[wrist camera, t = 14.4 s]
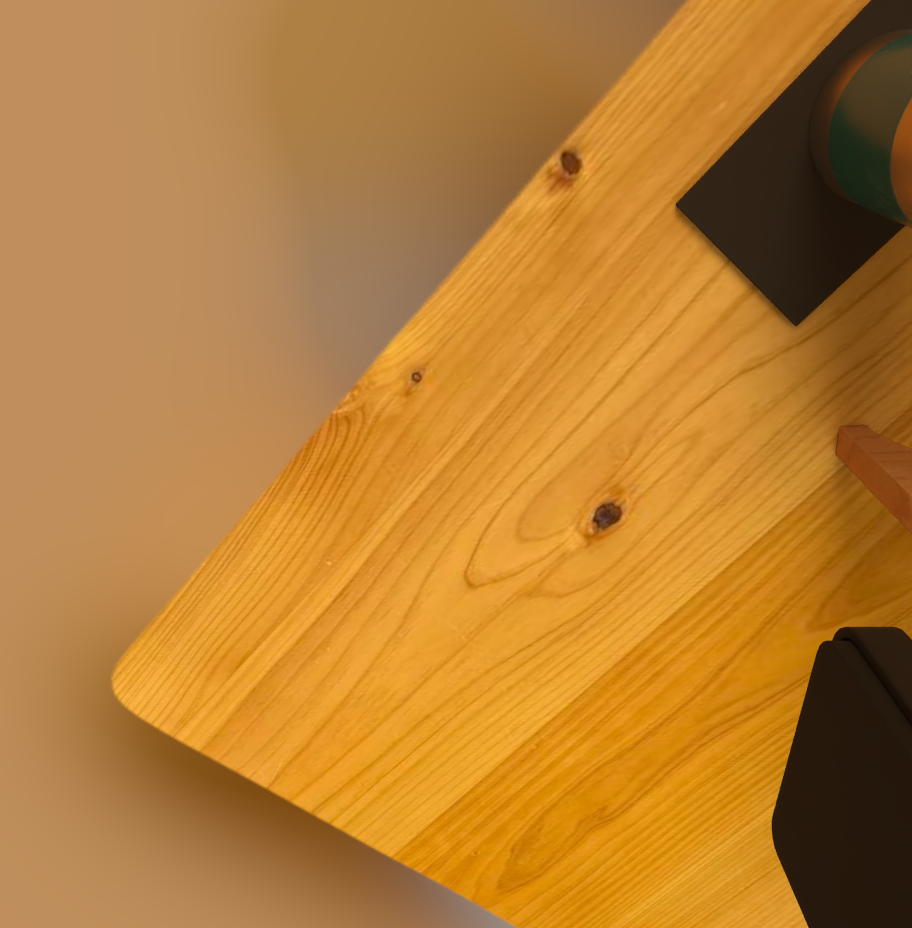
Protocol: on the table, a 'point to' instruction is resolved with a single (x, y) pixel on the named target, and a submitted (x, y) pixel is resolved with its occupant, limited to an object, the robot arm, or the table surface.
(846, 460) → the planter
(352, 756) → the table surface
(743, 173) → the black flat rectangular slab
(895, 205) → the can
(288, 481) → the table surface
